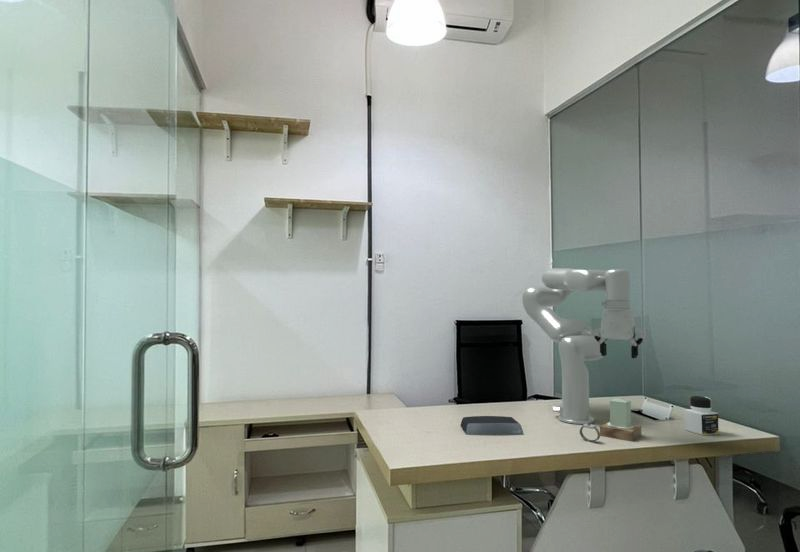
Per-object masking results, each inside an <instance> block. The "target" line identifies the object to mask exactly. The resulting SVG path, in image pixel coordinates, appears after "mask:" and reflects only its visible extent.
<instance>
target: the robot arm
mask: <svg viewBox="0 0 800 552" xmlns="http://www.w3.org/2000/svg"><path fill="white" fill-rule="evenodd" d="M541 282H542V284H543V285H544V286H543V285H542V286H541V285H540V286H538V285H537V286H530V287H528V288H527V289H525V290H524V291H523V293H522V298H521V299H522V306H523V309H524V310H525V312H526V314H527V315H528V316H529V317H530V318H531V319H532V320H533V322H535V323H536V324H537V325H538V326H539V327H540V329H542V331H543V332H544V333H545V334H546V335H547V337H548V338H550V339H551V341H553V342H554V343H558V353H559V358H560V365H561V401H562V403H561V404H562V405H561V406H557V405H556V406H555V405H553V406H552V412H553V413H558V414H559V415H558V416H557V417H558V418H557V419H558V420H559V421H560V422H563V423H566V424H567V423H568V424H574V425H584V424H591V425H592V424H594V422H595V418H594V417H593V416H590V382H589V381H590V379H589V377H590V375H589V374H590V373H589V371H588V368H587V366H586V364H585V362H586V361H597V360H598V361H599V360H601V359H602V358H603V357H604V356H607V344H606V342H607V341H608V340H618V341H620V340H621V341H629V343H631V344H632V345H631V351H630V352H631V353H630V355H631V359H637V357H638V356H639V346H640V344H642V343H643V342H644V341H645V338H646V337H647V332H645V331H643V330H641V329H640V328H637V327H636V322H635V321H636V320H635V317H634V312H633V310H632V309H631V292H630V291H631V289H630V288H631V285H630V282H631V280H630V271H628V269H622V268H619V269H617V268H615V269H608V270H602V269H577V268H573V267H572V268H569V267H568V268H567V267H566V268H565V267H564V268H561V267H560V268H559V267H558V268H557V267H554V268H553V267H552V268H548V269H547V270H545V271H544V272H543V273H542V275H541ZM573 291H579V292H580V291H582V292H605V301H603V302H601V307H605V309H603V311H602V315H601V323H600V326H598V327H597V328H595V329H592V328H591V327H590V326H589V325H588V324H587V323H585V322H584V321H583V320H580V319H574V318H573V319H572V318H571V319H570V318H562V317H560V315H559V314H557V312H556V311H555V310H553V309H551V308H552V307H558V306H559V307H560V305H563V303H564V302H565V301H566V300H567V299H568V298H569V296H571V294H572V293H573ZM550 307H551V308H550ZM599 333H600V336H599ZM636 334H638V335H639V338H637V339H636V336H637V335H636Z"/></svg>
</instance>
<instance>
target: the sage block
mask: <svg viewBox="0 0 800 552" xmlns="http://www.w3.org/2000/svg"><path fill="white" fill-rule="evenodd" d="M631 403H632V402H631V400H629V399H623V398H622V399H621V398H613V399H610V400H609V421H610V425H614V426H620V427H625V428H626V427H628V426H630V425H632V413H631V412H632V408H631V406H632V405H631Z"/></svg>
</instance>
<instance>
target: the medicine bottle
mask: <svg viewBox="0 0 800 552" xmlns="http://www.w3.org/2000/svg"><path fill="white" fill-rule="evenodd" d="M689 400H690V408H687V409H684V410H683V411H684V431H686V432H687V431H688V432H691V433H694V434H697V435H699V436H700V435H701V436H710V435H718V434H719V432H720V431H719V429H720V428H719V413H718V412H716V411H712V399H711V398H710V397H707V396H702V395H693V396H690V399H689Z"/></svg>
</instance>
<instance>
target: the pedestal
mask: <svg viewBox="0 0 800 552" xmlns="http://www.w3.org/2000/svg"><path fill="white" fill-rule="evenodd" d="M599 432H600V437H601V436H602V437H607V438H611V439H617V440H623V441H628V442H634V441H635V440H636V439H638V438H640V437H641V436H642V426H641V425H636V424H631V425H630V426H628V427H626V428H625V427H620V426H614V425H610V420H609V421H608V422H606V423H604V424H601V425H600V426H599Z"/></svg>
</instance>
